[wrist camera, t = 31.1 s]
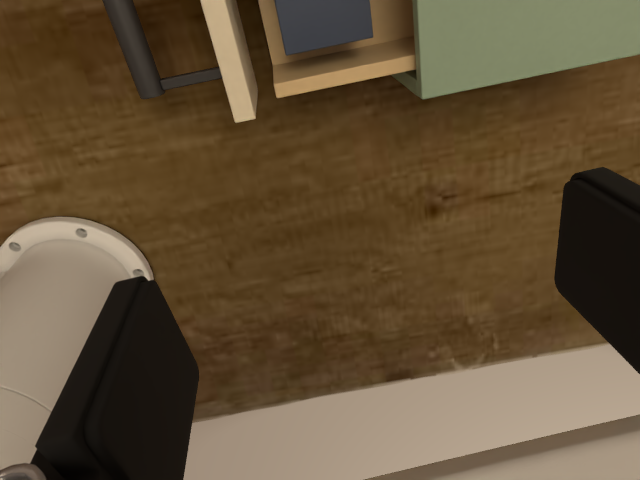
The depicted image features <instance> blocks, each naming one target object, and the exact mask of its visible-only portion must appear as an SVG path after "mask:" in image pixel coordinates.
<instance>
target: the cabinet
mask: <svg viewBox="0 0 640 480" xmlns="http://www.w3.org/2000/svg"><path fill="white" fill-rule="evenodd" d="M412 4H413V22H414V39H415V57H416V70H411V71H406V72H401V73H397V74H392V75H391V76H393V77H394V78H395V79H397V80H398V81H399V82H400V83H402V84H403V85H404V86H405V87H407V88H408V89H409V90H410V91H412V92H413V93H414V94H415V95H417V96H418V97H420V98H421V99H428V98H433V97H438V96H442V95H447V94H452V93H457V92H462V91H466V90H471V89H476V88H481V87H486V86H490V85H495V84H500V83H505V82H510V81H514V80H519V79H524V78H529V77H534V76H538V75H543V74H548V73H553V72H558V71H562V70H567V69H572V68H577V67H582V66H586V65H591V64H596V63H601V62H606V61H610V60H615V59H620V58H625V57H630V56H634V55H639V54H640V0H412Z"/></svg>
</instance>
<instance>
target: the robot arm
mask: <svg viewBox="0 0 640 480" xmlns="http://www.w3.org/2000/svg"><path fill="white" fill-rule="evenodd" d="M555 284H556V287H557V289H558V291H559V292H560V293H561V295H562V296H563V297H564V298H565V299H566V300H567V301H568V302H569V303H570V304H571V305H572V306H573V307H574V308H575V309H576V310H577V311H578V312H579V313H580V314H581V315H582V316H583V317H584V318H585V319H586V320H587V321H588V322H589V323H590V324H591V325H592V326H593V327H594V328H595V329H596V330H597V331H598V332H599V333H600V334H601V335H602V336H603V337H604V338H605V339H606V340H607V341H608V342H609V343H610V344H611V345H612V346H613V347H614V348H615V349H616V350H617V351H618V353H620V354H621V355H622V356H623V358H625V360H626V361H628V362H629V364H630V365H631V366H632V367H633V368H634V369H635V370H636V371H637V372H638V373H639V374H640V185H638V184H636V183H634V182H632V181H630V180H628V179H626V178H624V177H623V176H621V175H619V174H617V173H615V172H613V171H611V170H609V169H607V168H604V167H601V168H596V169H592V170H587V171H583V172H579V173H575V174H574V175H573V176H572V177H571V179H570V181H569V182H567V183H566V184H565V186H564V190H563V200H562V210H561V219H560V229H559V239H558V248H557V258H556V268H555ZM198 381H199V370H198V366H197V363H196V361H195V359H194V357H193V355H192V353H191V351H190V349H189V346H188V344H187V342H186V340H185V338H184V336H183V334H182V332H181V330H180V328H179V326H178V324H177V322H176V320H175V318H174V316H173V314H172V312H171V310H170V308H169V306H168V304H167V302H166V300H165V298H164V296H163V294H162V292H161V290H160V288H159V286H158V284H157V283H156V282H155V281H154V278H153V273H152V270H151V268H150V266H149V263H148V261H147V260H146V259H145V257H144V256H143V254H142V253H141V251H140V250H139V249H138V248H137V247H136V246H135V245H134V244H133V243H132V242H131V241H129V240H128V239H127V238H125V237H124V236H123V235H121V234H120V233H118V232H116V231H114V230H113V229H111V228H109V227H107V226H105V225H102V224H99V223H96V222H93V221H91V220H86V219H81V218H76V217H50V218H43V219H39V220H36V221H33V222H30V223H28V224H26V225H24V226H22V227H21V228H19V229H17V230H16V231H15V232H14V233H13V234H12V235H11V236H10V237H8V239H7V240H6V241H5V242H4V243H3V244H2V246H1V247H0V480H183V477H184V471H185V465H186V458H187V451H188V445H189V439H190V433H191V426H192V420H193V413H194V407H195V400H196V394H197V387H198ZM365 480H640V415H636V416H632V417H627V418H623V419H619V420H615V421H610V422H606V423H601V424H597V425H593V426H588V427H584V428H580V429H575V430H571V431H567V432H562V433H558V434H554V435H550V436H546V437H541V438H537V439H533V440H529V441H525V442H520V443H516V444H512V445H507V446H503V447H499V448H495V449H491V450H486V451H482V452H478V453H474V454H470V455H465V456H461V457H457V458H453V459H448V460H444V461H440V462H436V463H432V464H428V465H423V466H419V467H415V468H411V469H407V470H402V471H399V472H394V473H390V474H385V475H381V476H377V477H373V478H369V479H365Z"/></svg>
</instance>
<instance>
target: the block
mask: <svg viewBox="0 0 640 480" xmlns="http://www.w3.org/2000/svg"><path fill="white" fill-rule="evenodd" d="M274 2H275V7H276V11H277V16H278V21H279V26H280V31H281V36H282V41H283V45H284V50H285V54H286V56H288V55H292V54H297V53H302V52H307V51H312V50H316V49H321V48H326V47H331V46H335V45H340V44H345V43H350V42H355V41H359V40H364V39H369V38H373V27H372V18H371V8H370V0H274Z"/></svg>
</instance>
